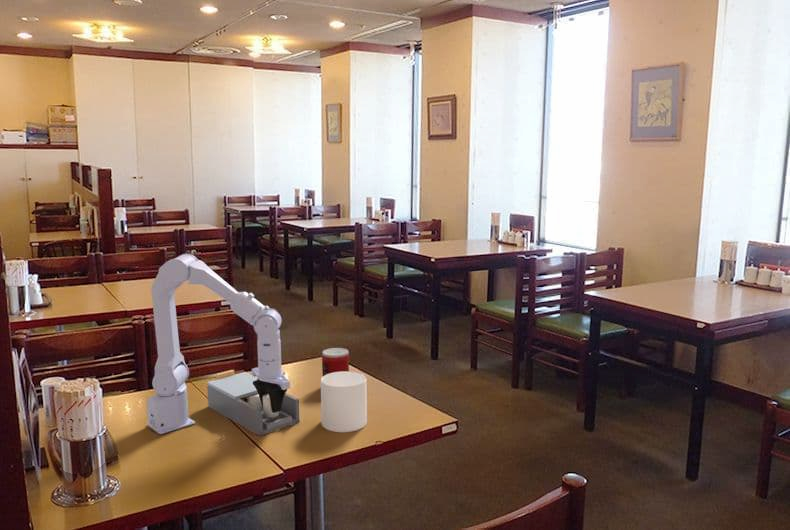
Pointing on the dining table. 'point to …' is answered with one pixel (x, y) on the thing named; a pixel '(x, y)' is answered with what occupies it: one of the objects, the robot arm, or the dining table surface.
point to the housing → (254, 412)
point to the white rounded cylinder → (268, 407)
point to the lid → (234, 384)
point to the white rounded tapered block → (255, 401)
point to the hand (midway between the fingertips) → (271, 409)
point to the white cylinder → (343, 401)
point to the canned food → (335, 360)
